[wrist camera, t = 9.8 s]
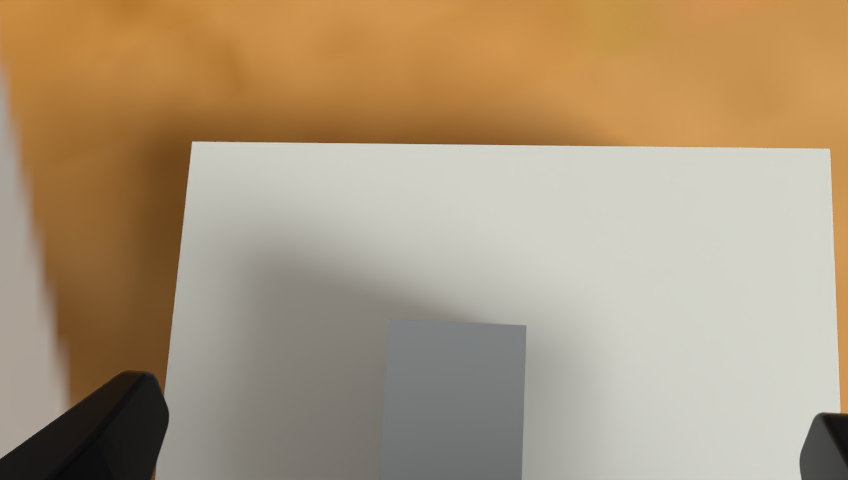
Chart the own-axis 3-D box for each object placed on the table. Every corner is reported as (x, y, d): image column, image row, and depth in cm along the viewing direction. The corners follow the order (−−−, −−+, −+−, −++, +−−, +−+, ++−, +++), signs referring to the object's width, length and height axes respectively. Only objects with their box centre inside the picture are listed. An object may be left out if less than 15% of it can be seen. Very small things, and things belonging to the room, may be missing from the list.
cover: (744, 728, 17) (1160, 1417, 6) (244, 666, 19) (-158, 1106, 8) (735, 214, 19) (1033, 7, 8) (285, 203, 21) (13, 22, 10)
